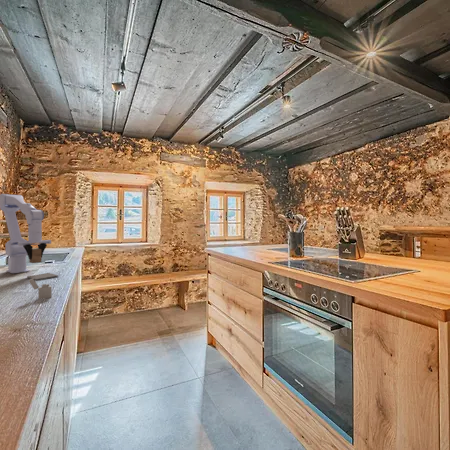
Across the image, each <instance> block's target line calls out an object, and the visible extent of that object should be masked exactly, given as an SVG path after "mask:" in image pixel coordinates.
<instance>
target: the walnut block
mask: <svg viewBox="0 0 450 450" xmlns="http://www.w3.org/2000/svg"><path fill="white" fill-rule="evenodd" d="M28 259H29V258H28ZM29 263H32V264H36V263H42V258H41V249H39V248H32V259H29Z"/></svg>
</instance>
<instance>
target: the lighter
mask: <svg viewBox="0 0 450 450" xmlns="http://www.w3.org/2000/svg"><path fill="white" fill-rule="evenodd" d="M28 283H29V284H30V285H31V286H32V288H33V290H34V291H35V290H37V289H38V292H37V293H38V300H41V299H42V300H43V298H44V299H49V298H50V299H51V298H52V297H53V296H52V295H53V293H52V285H50V284H49V283H43V284H41V286H39V285H38V284H37V281H35V280H34V279H33V278H32V279H28Z"/></svg>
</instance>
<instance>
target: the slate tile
mask: <svg viewBox="0 0 450 450" xmlns="http://www.w3.org/2000/svg"><path fill="white" fill-rule="evenodd" d="M58 277H59V275H58V274H54V273H51V272H47V273H40V274H33V275H28V276H26V278H27V279H28V280H30V279H32V278H33V279H34V280H35V282H37V281H42V280H48V279H54V278H58Z"/></svg>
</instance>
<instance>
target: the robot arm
mask: <svg viewBox="0 0 450 450" xmlns="http://www.w3.org/2000/svg"><path fill="white" fill-rule="evenodd" d="M0 210H1V211H2V212H3V213H4V218H5V222H6V227H7V229H8V231H7V232H8V234H9V240H8V241H7V242H6V243H5V244H4V245H5V249H4V250H5V254H6V255H7V256H8V259H7V260H8V261H7V264H8V265H7V266H8V270H7V269H6V272H8V273H9V274H10V273H11V274H19V273H26V272H30V269H27V257H28V259H32V249H34V248H33V247H34V246H35V245H37V247H38V248H39V249H41V259H42V258H43V255H44V252H45V249H46V248H47V245H51V244H52V240H51V239H46V240H44V239H43V238H42V237H43V235H42V234H43V231H42V230H43V228H42V221H44V218H45V213H44V211H43V210H42V209H37V208H36V207H35V206H33V205H32V203H30V202H29V203H28V202H26V201H25V200H24V196H23V195H21V194H7V193H0ZM18 211H20V212H21V213H22V214H24V216H25V219H26V224H27V227H28V228H27V229H28V231H27V232H28V233H27V234H28V237H27V238H28V239H25V238H23V237H22V234H21V229H20V225H19V221H18V218H17V214H16V213H17V212H18Z"/></svg>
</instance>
